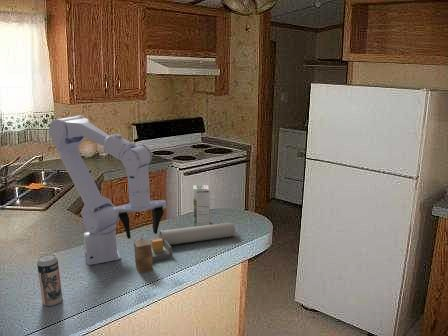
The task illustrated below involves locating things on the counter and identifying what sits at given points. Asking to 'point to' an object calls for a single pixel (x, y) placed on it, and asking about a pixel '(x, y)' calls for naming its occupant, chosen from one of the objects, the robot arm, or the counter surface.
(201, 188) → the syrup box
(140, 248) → the walnut peg
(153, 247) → the switch knob
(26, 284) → the counter surface
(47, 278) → the beer can
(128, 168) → the robot arm
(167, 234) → the tube
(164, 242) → the grey open tray
